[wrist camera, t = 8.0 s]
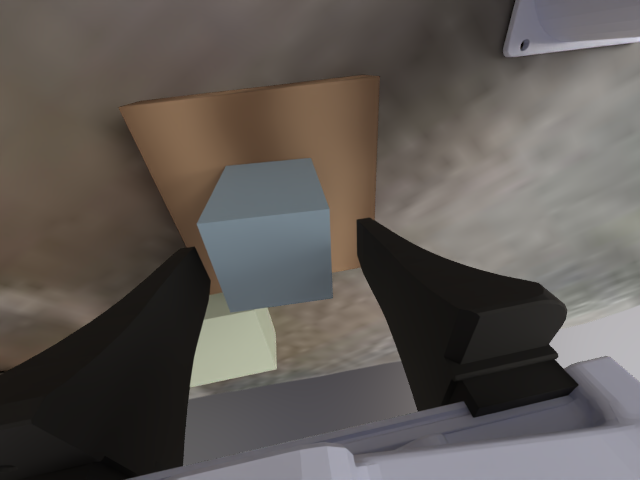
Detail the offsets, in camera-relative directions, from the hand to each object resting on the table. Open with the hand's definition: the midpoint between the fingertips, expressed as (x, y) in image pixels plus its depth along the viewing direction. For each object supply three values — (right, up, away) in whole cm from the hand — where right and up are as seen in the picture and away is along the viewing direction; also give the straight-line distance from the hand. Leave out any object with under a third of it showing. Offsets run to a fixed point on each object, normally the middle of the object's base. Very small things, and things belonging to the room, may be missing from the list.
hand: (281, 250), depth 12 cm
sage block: (-7, -6, +12) cm, 15 cm away
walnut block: (-1, +4, +6) cm, 7 cm away
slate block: (-1, +3, +3) cm, 4 cm away
